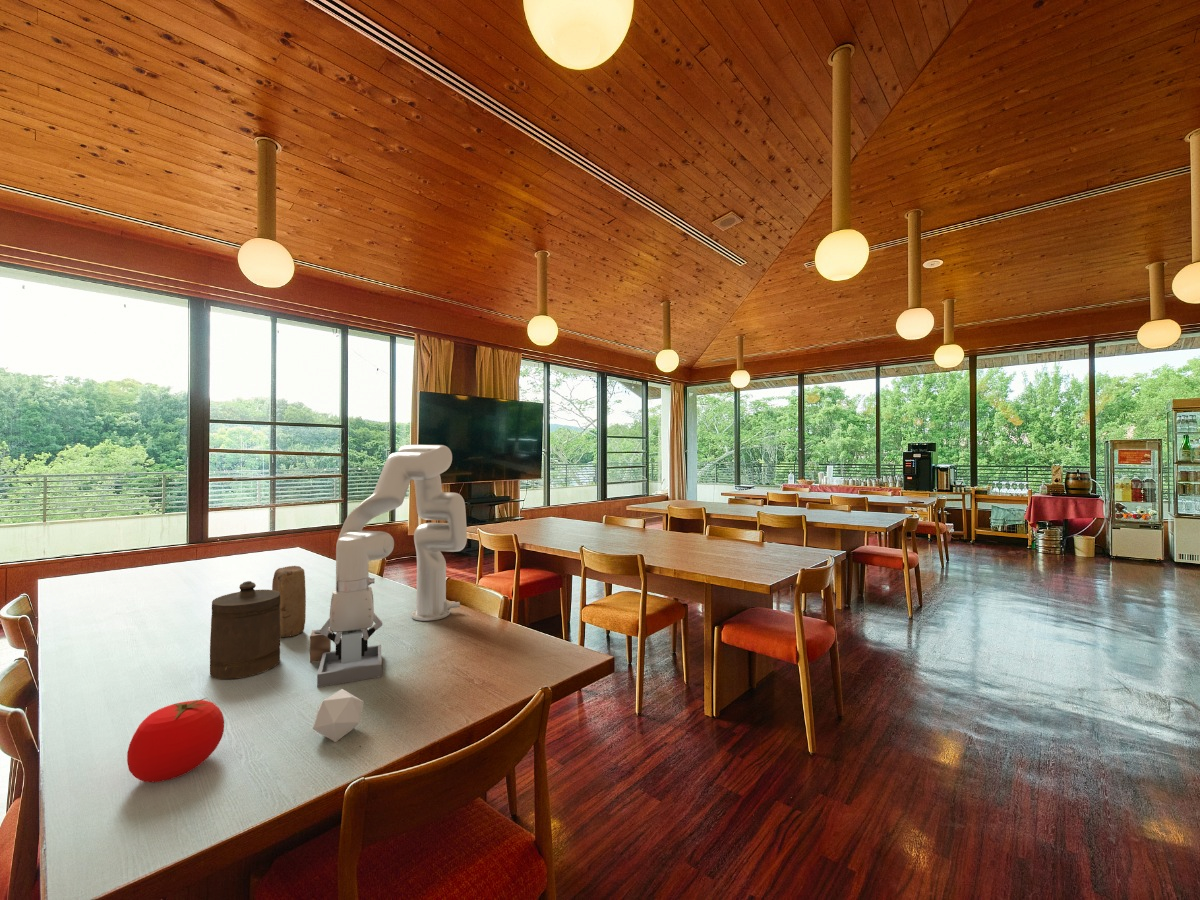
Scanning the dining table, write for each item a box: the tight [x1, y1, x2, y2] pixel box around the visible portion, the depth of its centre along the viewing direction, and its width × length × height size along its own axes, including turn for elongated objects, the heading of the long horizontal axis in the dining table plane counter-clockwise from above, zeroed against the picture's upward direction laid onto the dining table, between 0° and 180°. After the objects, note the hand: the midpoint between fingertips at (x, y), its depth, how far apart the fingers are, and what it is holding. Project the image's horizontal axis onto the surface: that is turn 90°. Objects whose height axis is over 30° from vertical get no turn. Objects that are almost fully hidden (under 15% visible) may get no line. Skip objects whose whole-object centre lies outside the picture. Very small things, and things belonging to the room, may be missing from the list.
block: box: [271, 565, 307, 638], centre depth 153 cm, size 11×8×20 cm
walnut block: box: [309, 627, 332, 663], centre depth 135 cm, size 4×4×7 cm
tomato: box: [126, 697, 225, 783], centre depth 87 cm, size 12×14×12 cm
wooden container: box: [209, 580, 281, 680], centre depth 129 cm, size 15×15×22 cm
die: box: [312, 688, 364, 743], centre depth 98 cm, size 8×9×10 cm
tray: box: [316, 644, 383, 688], centre depth 127 cm, size 14×14×3 cm
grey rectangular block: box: [341, 629, 363, 664], centre depth 127 cm, size 4×4×7 cm
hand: (351, 655), depth 127 cm, fingers closed on grey rectangular block, 4 cm apart
